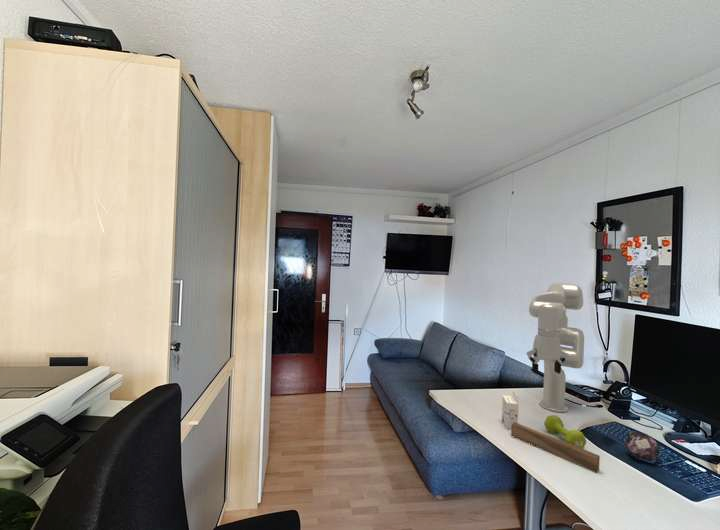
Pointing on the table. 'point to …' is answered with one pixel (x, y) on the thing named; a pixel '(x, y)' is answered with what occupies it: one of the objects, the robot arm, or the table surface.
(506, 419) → the ink cartridge box
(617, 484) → the table surface
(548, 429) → the dumbbell
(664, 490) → the table surface
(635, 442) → the mineral specimen
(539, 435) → the walnut board
